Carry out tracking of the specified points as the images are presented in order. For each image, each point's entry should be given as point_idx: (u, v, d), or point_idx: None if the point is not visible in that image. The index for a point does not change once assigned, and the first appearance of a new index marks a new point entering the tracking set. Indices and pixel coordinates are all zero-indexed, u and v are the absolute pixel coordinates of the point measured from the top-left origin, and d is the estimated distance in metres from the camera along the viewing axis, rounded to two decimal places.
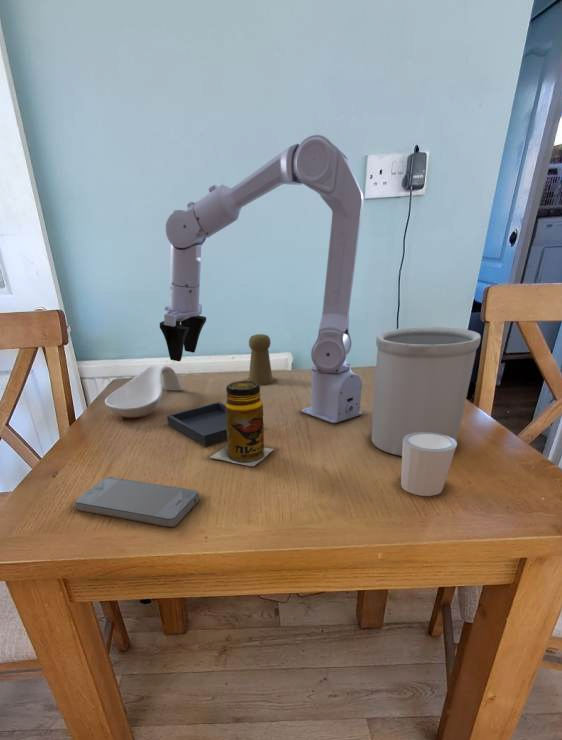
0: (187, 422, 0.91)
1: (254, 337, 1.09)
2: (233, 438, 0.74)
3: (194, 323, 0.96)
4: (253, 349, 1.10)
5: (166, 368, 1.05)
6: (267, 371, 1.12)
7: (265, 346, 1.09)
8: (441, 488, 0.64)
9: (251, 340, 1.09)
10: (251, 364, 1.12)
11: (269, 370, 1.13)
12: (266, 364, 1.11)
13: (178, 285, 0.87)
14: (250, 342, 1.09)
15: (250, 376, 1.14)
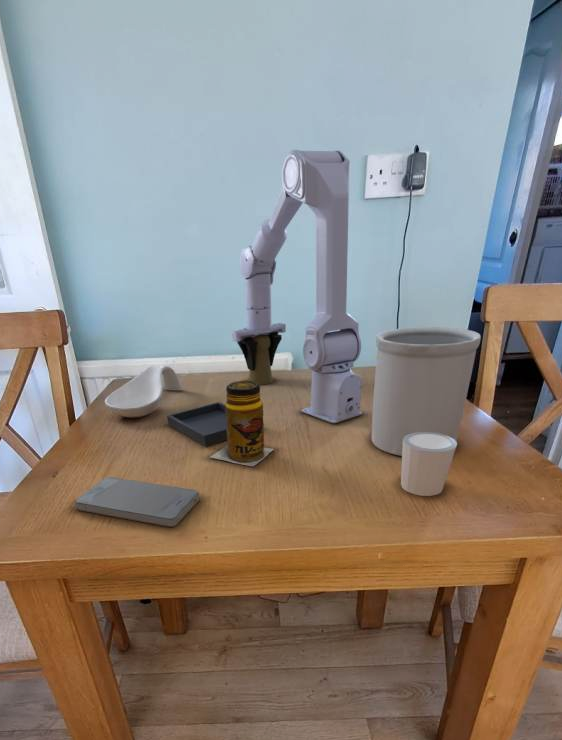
0: (187, 422, 0.91)
1: (254, 337, 1.09)
2: (233, 438, 0.74)
3: (270, 340, 1.11)
4: None
5: (166, 368, 1.05)
6: (267, 371, 1.12)
7: (265, 346, 1.09)
8: (441, 488, 0.64)
9: None
10: None
11: (269, 370, 1.13)
12: (266, 364, 1.11)
13: (248, 308, 1.05)
14: None
15: (250, 376, 1.14)
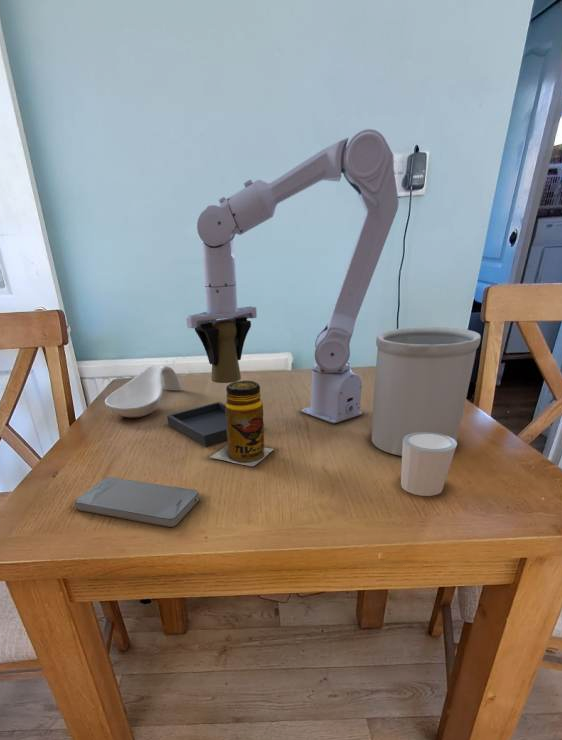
0: (187, 422, 0.91)
1: None
2: (233, 438, 0.74)
3: None
4: None
5: (166, 368, 1.05)
6: (233, 366, 0.90)
7: (229, 335, 0.87)
8: (441, 488, 0.64)
9: None
10: None
11: (236, 365, 0.90)
12: (232, 358, 0.89)
13: (206, 286, 0.83)
14: None
15: (212, 372, 0.91)
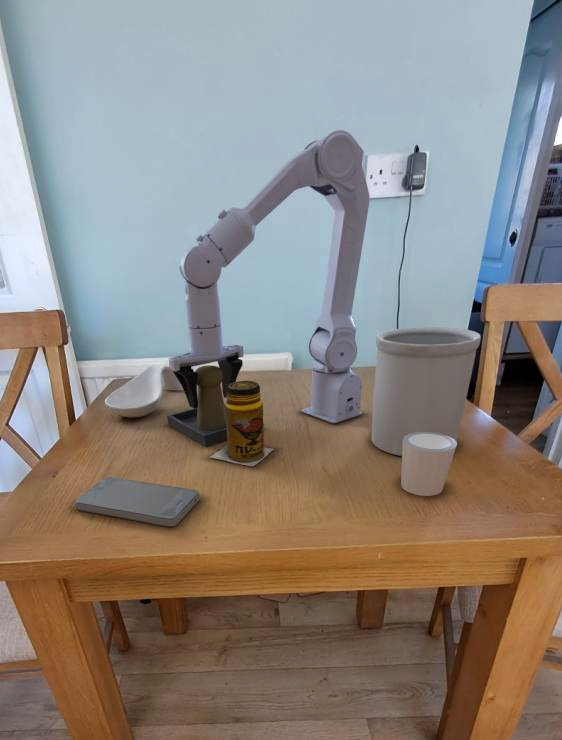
0: (187, 422, 0.91)
1: (200, 370, 0.83)
2: (233, 438, 0.74)
3: (227, 367, 0.85)
4: (200, 385, 0.84)
5: (166, 368, 1.05)
6: (219, 413, 0.86)
7: (214, 382, 0.83)
8: (441, 488, 0.64)
9: None
10: (198, 404, 0.86)
11: (222, 411, 0.87)
12: (218, 405, 0.85)
13: (190, 327, 0.79)
14: None
15: (198, 419, 0.88)
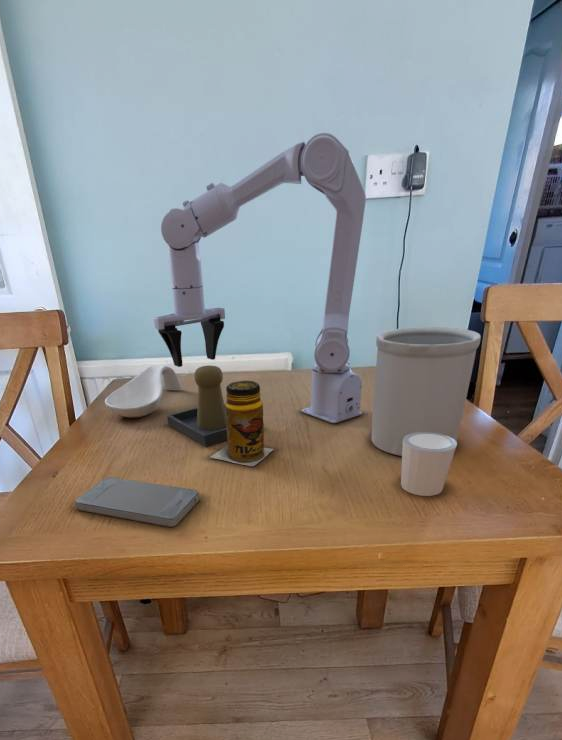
0: (187, 422, 0.91)
1: (200, 370, 0.83)
2: (233, 438, 0.74)
3: (210, 328, 0.91)
4: (200, 385, 0.84)
5: (166, 368, 1.05)
6: (219, 413, 0.86)
7: (214, 382, 0.83)
8: (441, 488, 0.64)
9: (196, 374, 0.83)
10: (198, 404, 0.86)
11: (222, 411, 0.87)
12: (218, 405, 0.85)
13: (173, 288, 0.84)
14: (195, 376, 0.83)
15: (198, 419, 0.88)
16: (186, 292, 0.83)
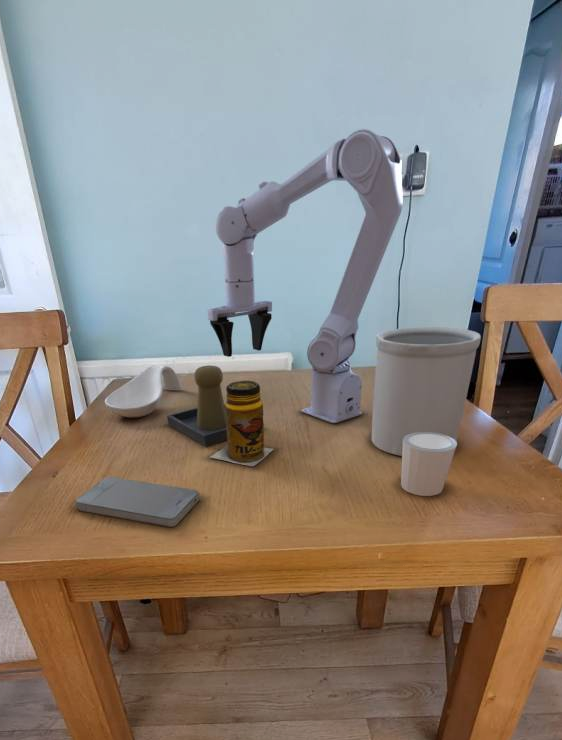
0: (187, 422, 0.91)
1: (200, 370, 0.83)
2: (233, 438, 0.74)
3: (258, 320, 0.95)
4: (200, 385, 0.84)
5: (166, 368, 1.05)
6: (219, 413, 0.86)
7: (214, 382, 0.83)
8: (441, 488, 0.64)
9: (196, 374, 0.83)
10: (198, 404, 0.86)
11: (222, 412, 0.87)
12: (218, 405, 0.85)
13: (227, 281, 0.89)
14: (195, 376, 0.83)
15: (198, 419, 0.88)
16: (239, 285, 0.88)
